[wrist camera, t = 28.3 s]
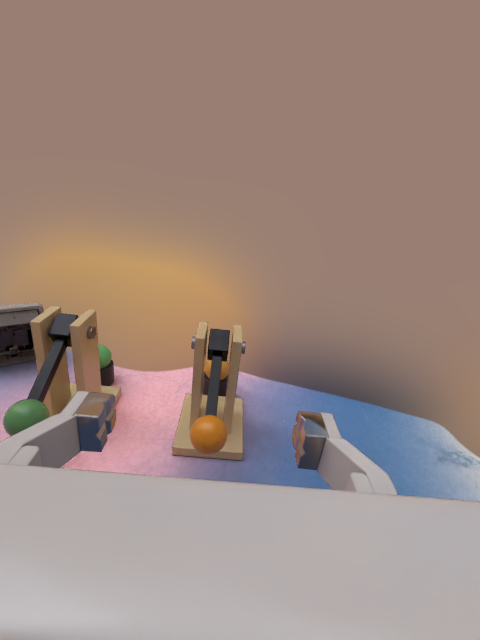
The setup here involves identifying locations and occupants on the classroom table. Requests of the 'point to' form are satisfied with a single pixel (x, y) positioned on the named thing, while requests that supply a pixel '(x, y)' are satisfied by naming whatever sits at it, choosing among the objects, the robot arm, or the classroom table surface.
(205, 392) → the amber lamp
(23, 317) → the electrical switch
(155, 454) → the classroom table surface
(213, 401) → the amber switch
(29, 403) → the green switch
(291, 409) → the classroom table surface
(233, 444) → the tan wooden upright frame
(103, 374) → the green lamp
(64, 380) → the wooden lever stand
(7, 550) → the robot arm
